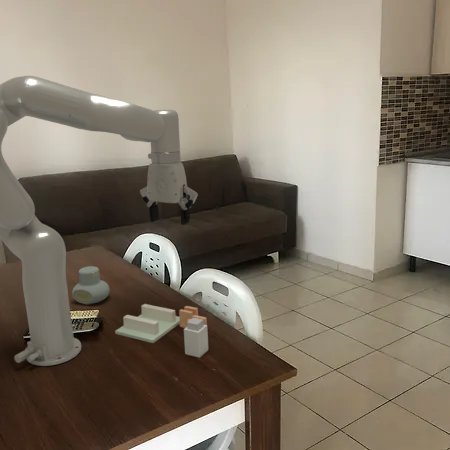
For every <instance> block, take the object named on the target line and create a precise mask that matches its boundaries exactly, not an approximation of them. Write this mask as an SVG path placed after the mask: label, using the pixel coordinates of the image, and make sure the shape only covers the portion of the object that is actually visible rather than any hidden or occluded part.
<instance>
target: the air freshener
mask: <svg viewBox="0 0 450 450" xmlns="http://www.w3.org/2000/svg"><path fill="white" fill-rule="evenodd" d="M100 276H101V275H100V269H99V267H97V266H89V265H88V266H84V267H82V268H80V269H79V270H78V278H79V279H78V280H79V282H78V283H77V284H76V285H74V287H73V288H72V291H71V295H72V298H73V299H74V300H75V301H76V302H78V303H80V304H83V305H88V306H89V305H94V304H98V303H100V302H102V301H104V300H105V299H106V298H107V297H108V296H109V294H110V291H111V288H110V285H109V284H108V283H107V282H106V281H104V280H102V279H101V277H100Z"/></svg>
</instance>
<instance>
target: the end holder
mask: <svg viewBox="0 0 450 450" xmlns="http://www.w3.org/2000/svg"><path fill="white" fill-rule="evenodd" d="M140 308H141V314H139V315H138V316H135V315H130V314H126V315H124V316H123V318H122V319H123V325H122V326H121V327H119V328H118V329H116V330H115V331H114V333H115V335H118V336H123V337H126V338H131V339H135V340H139V341H143V342H147V343H150V344H155V342H157V341H159V340H160V339H161V338H162V337H164V336H165V335H166V334H168V333H169V332H170V331H172V330H173V329H175V328H176V327H177V326H178V325H180V315H179V316H177V315H176V310H175V309H171V308H168V307H161V306H157V305H151V304H147V303H144V304H141V307H140Z"/></svg>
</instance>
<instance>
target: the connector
mask: <svg viewBox="0 0 450 450" xmlns="http://www.w3.org/2000/svg"><path fill="white" fill-rule="evenodd" d="M208 332H209V331H208V325H204V320H203V319H198V318H192V319H191V320H189V321H188V322H187V327H186V328H183V339H184V355H187V356H192V357H195V358H199V359H200V358H201V357H203V356H204V354H205V353H207V352H208V351H209V336H208V335H209V333H208Z"/></svg>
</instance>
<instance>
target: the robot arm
mask: <svg viewBox="0 0 450 450" xmlns="http://www.w3.org/2000/svg"><path fill="white" fill-rule="evenodd" d="M24 117H31V118H35V119H38V120H39V119H40V120H44V121H45V122H46V121H47V122H51V123H55V124H59V125H64V126H67V127H71V128H74V129H79V130H84V131H89V132H101V133H107V134H108V133H109V134H115V135H120V137H122V138H123V139H125V140H127V141H131V142H142V143H150V153H148V154H147V158H148V159H150V160H151V163H150V164H149V165H148V170H147V181H146V183H147V185H146V186H145V187H143V188H141V189H140V190H139V194H140V195H141V197H142V199H143V200H142V201H144V203H145V204H146V207H147V208H148V209H149V210H148V211H149V220H150V222H156V221H157V220H159V218H160V217H159V215H160V214H159V206H158V203H165V204H178V205H179V206H180V208H181V210H180V224H181V225H182V226H185V225H187V224H189V223H190V220H191V214H190V210H191V208H192V206H193V205H194V204H195V203H196V200H197V199H198V196H199V194H198V192H196V191H195V190H194V189H192V188H190V187H189V186H188V183H187V182H188V181H187V175H186V171H185V167H184V164H183V163H182V162H181V161H182V160H181V158H182V157H181V142H180V141H181V140H180V124H179V123H180V122H179V121H180V120H179V119H180V118H179V114H178V112H177V111H176V110H174V109H155V110H153V109H151V108H150V109H149V108H147V107H145V106H144V107H143V106H141V105H137V104H134V103H130V102H126V101H123V100H119V99H115V98H110V97H106V96H103V95H99V94H96V93H92V92H89V91H85V90H82V89H78V88H75V87H71V86H68V85H66V84H65V85H64V84H62V83H59V82H55V81H52V80H49V79H46V78H43V77H39V76H33V75H23V76H22V75H20V76H15V77H13V78H10V79H8V80H6V81H4V82H3V83H1V84H0V240H1V241H2V242H3V243H4V245H5V246H6V247H7V248H8V249H9V251H10V252H11V253H12V254H13V255H14V256H16V257H18V259H20V260H21V268H22V269H21V270H22V273H21V274H22V275H21V276H22V277H21V279H22V280H21V281H22V289H23V296H24V303H25V308H26V309H25V310H26V316H27V323H28V329H29V337H30V340H29V341H27V342H26V344H27V347H26V348H24V350H23V351H20V352H18V353H17V354H15V355H14V358H13V359H14V361H15V362H16V363H19V364H20V363H22V362H24V361H27V362H28V363H29V364H32V365H35V366H41V367H47V366H48V367H50V366H54V365H55V366H56V365H60V364H62V363H63V364H64V363H66V362H68V361H70V360H72V359H73V358H75V357H77V356H78V354H79V353H80V352H81V350H82V343H81V341H80V340H79V339H78V338H76V337H74V331H73V330H74V329H73V323H72V315H71V308H70V301H69V300H70V298H69V292H68V291H69V290H68V282H67V273H66V264H67V263H66V260H67V250H66V243H65V241H64V239H63V237H62V236H61V234H60V233H59V232H58V231H56V229H54V228H53V227H50V226H49V225H47V224H44V223H42V222H41V221H40V220H39V219H38V217H37V216H36V215H35V213H36V208H35V204H34V201H33V199H32V198H31V197H32V196H30V194H29V193H28V192H27V191H26V189H25V188H24V187H23V185H22V184H21V183H20V181H19V180H18V179H17V177H16V176H15V174H14V173H13V172H12V170H11V168H10V167H9V164H7V162H6V160H5V158H4V156H3V153H2V144H3V141H4V138H5V136H6V134H7V131H8V127H9V126H12V125H13V124H14V123H16V122H18V121H20V120H21V119H24ZM188 195H189V199H188Z"/></svg>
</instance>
